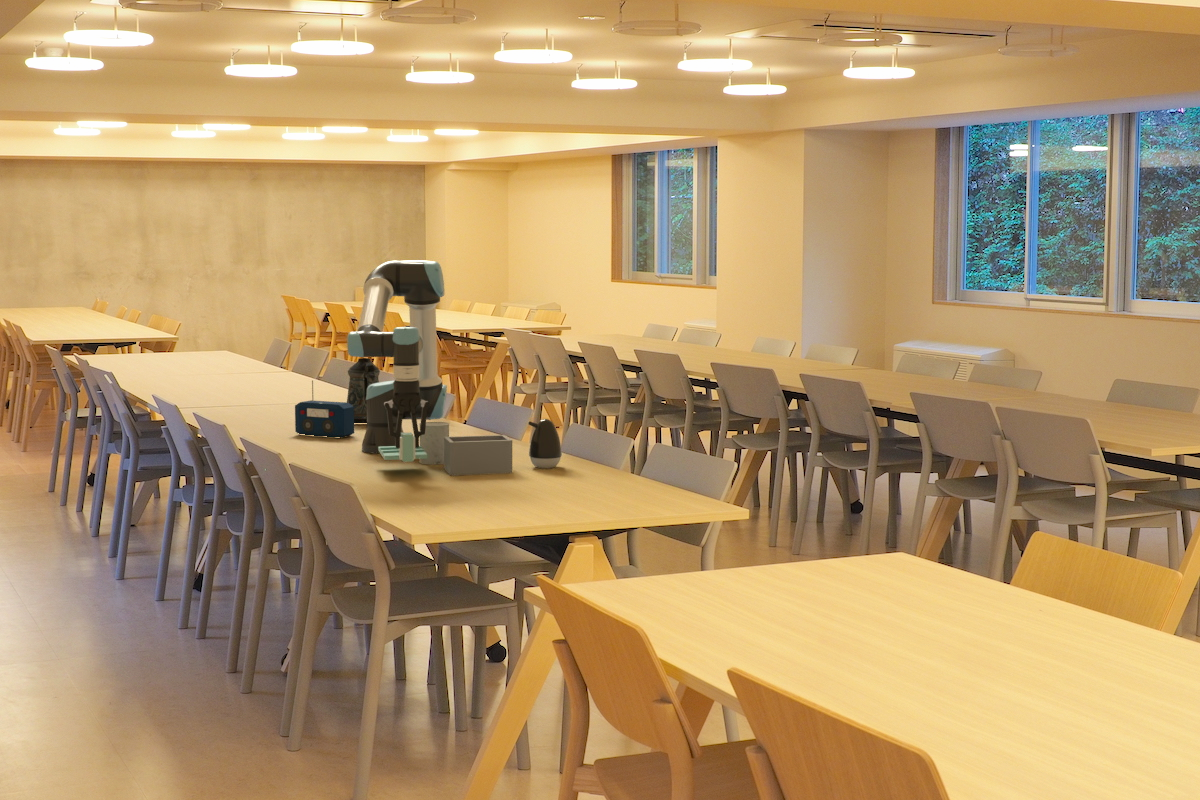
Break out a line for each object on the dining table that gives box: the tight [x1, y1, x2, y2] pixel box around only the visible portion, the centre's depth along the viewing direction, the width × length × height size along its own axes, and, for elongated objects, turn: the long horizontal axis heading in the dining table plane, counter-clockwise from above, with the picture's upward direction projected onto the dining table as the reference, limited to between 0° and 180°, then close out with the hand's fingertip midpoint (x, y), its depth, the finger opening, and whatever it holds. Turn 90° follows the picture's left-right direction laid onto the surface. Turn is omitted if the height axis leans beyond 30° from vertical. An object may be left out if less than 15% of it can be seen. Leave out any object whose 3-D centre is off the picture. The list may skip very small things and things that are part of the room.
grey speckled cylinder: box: [418, 421, 450, 465], centre depth 409 cm, size 10×10×12 cm
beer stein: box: [346, 357, 381, 423], centre depth 501 cm, size 16×19×25 cm
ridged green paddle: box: [378, 431, 427, 463], centre depth 388 cm, size 13×25×8 cm, turn 15°
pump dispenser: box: [527, 418, 563, 469], centre depth 400 cm, size 10×10×15 cm
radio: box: [294, 380, 355, 439], centre depth 465 cm, size 21×9×20 cm, turn 67°
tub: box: [443, 434, 513, 476], centre depth 393 cm, size 12×19×10 cm, turn 105°
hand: (407, 458), depth 379 cm, fingers closed on ridged green paddle, 3 cm apart
